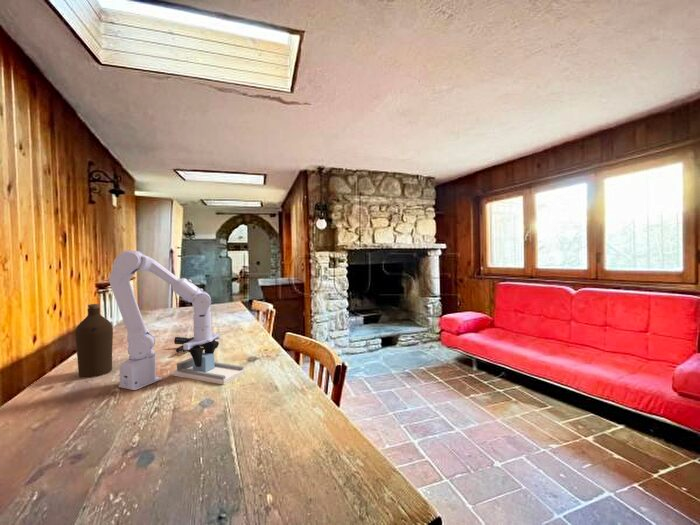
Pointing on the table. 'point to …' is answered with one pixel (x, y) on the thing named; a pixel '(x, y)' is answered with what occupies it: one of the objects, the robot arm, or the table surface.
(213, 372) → the rail board
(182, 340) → the black forked piece
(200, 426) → the table surface
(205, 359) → the block
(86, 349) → the olive oil
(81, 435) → the table surface
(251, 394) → the table surface
